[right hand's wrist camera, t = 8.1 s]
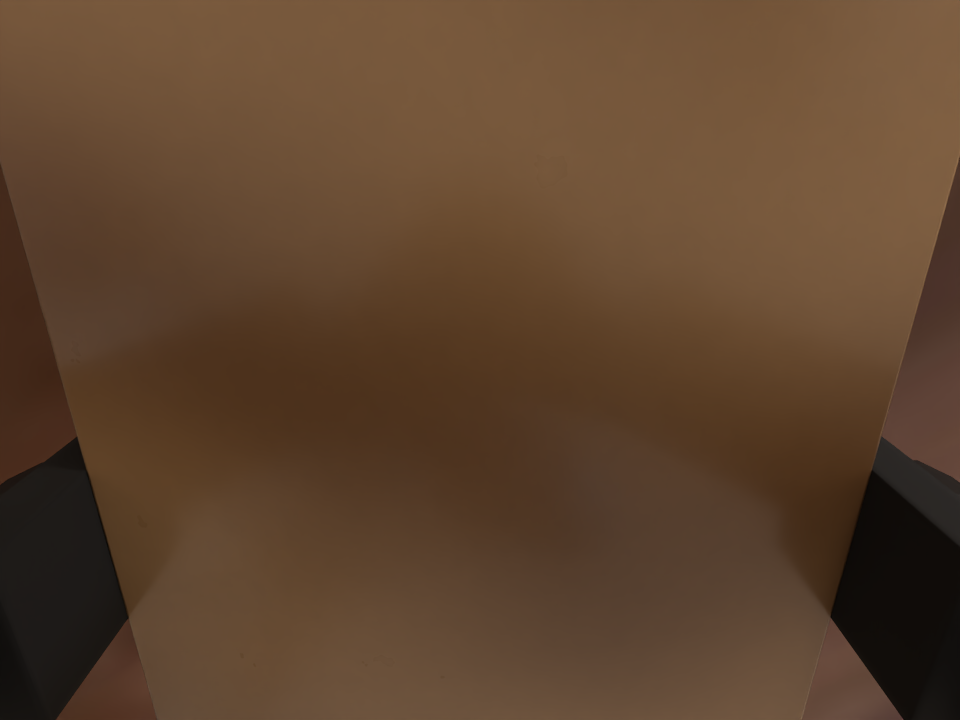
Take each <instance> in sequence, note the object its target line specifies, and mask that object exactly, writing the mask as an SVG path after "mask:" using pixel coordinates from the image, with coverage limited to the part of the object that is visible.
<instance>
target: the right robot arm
mask: <svg viewBox="0 0 960 720" xmlns="http://www.w3.org/2000/svg"><path fill="white" fill-rule="evenodd" d="M831 618H832V620H833V621H834V623H835V624H836V625H837V627H838V628H839V630H840V631H841V632H842V634H843V635H844V637H845V638H846V639H847V641H848V642H849V644H850V645H851V646H852V648H853V649H854V651H855V652H856V653H857V655H858V656H859V658H860V659H861V660H862V662H863V663H864V665H865V666H866V667H867V669H868V670H869V672H870V673H871V674H872V676H873V677H874V679H875V680H876V681H877V683H878V684H879V686H880V687H881V688H882V690H883V691H884V693H885V694H886V695H887V697H888V698H889V700H890V701H891V702H892V704H893V705H894V707H895V708H896V709H897V711H898V712H899V714H900V715H901V716H902V718H903V719H904V720H960V483H959V482H958V481H957V480H955V479H954V478H953V477H951V476H949V475H947V474H944V473H942V472H940V471H938V470H936V469H934V468H932V467H930V466H928V465H926V464H924V463H922V462H920V461H918V460H912V459H910V458H909V457H908V456H906V455H905V454H904V453H903V452H901V451H900V450H899V449H897V448H896V447H895V446H893V445H892V444H891V443H890V442H888V441H887V440H886V439H884V438H883V437H882V436H881V439H880V443H879V446H878V450H877V453H876V457H875V461H874V464H873V468H872V471H871V475H870V478H869V482H868V485H867V489H866V493H865V496H864V500H863V503H862V507H861V510H860V514H859V518H858V521H857V525H856V528H855V532H854V535H853V539H852V542H851V546H850V550H849V553H848V557H847V560H846V564H845V567H844V571H843V575H842V578H841V582H840V585H839V589H838V592H837V596H836V599H835V603H834V607H833V610H832V614H831ZM127 619H128V615H127V611H126V608H125V604H124V601H123V597H122V594H121V590H120V586H119V583H118V579H117V576H116V572H115V569H114V565H113V562H112V558H111V555H110V551H109V548H108V544H107V540H106V537H105V533H104V530H103V526H102V523H101V519H100V516H99V512H98V509H97V505H96V501H95V498H94V494H93V491H92V487H91V484H90V480H89V477H88V473H87V470H86V466H85V463H84V459H83V455H82V452H81V448H80V445H79V441H78V438H77V437H76V438H75V439H74V440H72V441H71V442H70V443H68V444H67V445H66V446H64V447H63V448H62V449H61V450H59V451H58V452H57V453H55V454H54V455H53V456H52V457H50V458H49V459H48V460H46V461H45V462H44V463H41V464H38V465H36V466H34V467H32V468H30V469H28V470H26V471H24V472H22V473H20V474H18V475H16V476H14V477H12V478H10V479H8V480H6V481H5V482H4V483H2V484H1V485H0V720H56V718H57V717H58V716H59V714H60V713H61V711H62V710H63V709H64V707H65V706H66V704H67V703H68V702H69V700H70V699H71V697H72V696H73V695H74V693H75V692H76V690H77V689H78V688H79V686H80V685H81V683H82V682H83V680H84V679H85V678H86V676H87V675H88V673H89V672H90V671H91V669H92V668H93V666H94V665H95V664H96V662H97V661H98V659H99V658H100V657H101V655H102V654H103V652H104V651H105V650H106V648H107V647H108V645H109V644H110V643H111V641H112V640H113V638H114V637H115V636H116V634H117V633H118V631H119V630H120V629H121V627H122V626H123V624H124V623H125V622H126V620H127Z"/></svg>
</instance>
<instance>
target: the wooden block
mask: <svg viewBox="0 0 960 720" xmlns="http://www.w3.org/2000/svg"><path fill="white" fill-rule="evenodd" d="M959 158H960V0H0V165H1V169H2V172H3V176H4V179H5V183H6V186H7V190H8V193H9V197H10V200H11V204H12V207H13V211H14V215H15V218H16V222H17V225H18V229H19V232H20V236H21V239H22V243H23V246H24V250H25V254H26V257H27V261H28V264H29V268H30V271H31V275H32V278H33V282H34V285H35V289H36V292H37V296H38V300H39V303H40V307H41V310H42V314H43V317H44V321H45V324H46V328H47V331H48V335H49V339H50V342H51V346H52V349H53V353H54V356H55V360H56V363H57V367H58V370H59V374H60V377H61V381H62V385H63V388H64V392H65V395H66V399H67V402H68V406H69V409H70V413H71V416H72V420H73V424H74V427H75V431H76V434H77V438H78V441H79V445H80V448H81V452H82V455H83V459H84V463H85V466H86V470H87V473H88V477H89V480H90V484H91V487H92V491H93V494H94V498H95V501H96V505H97V509H98V512H99V516H100V519H101V523H102V526H103V530H104V533H105V537H106V540H107V544H108V548H109V551H110V555H111V558H112V562H113V565H114V569H115V572H116V576H117V579H118V583H119V586H120V590H121V594H122V597H123V601H124V604H125V608H126V611H127V615H128V618H129V622H130V625H131V629H132V633H133V636H134V640H135V643H136V647H137V650H138V654H139V657H140V661H141V664H142V668H143V671H144V675H145V679H146V682H147V686H148V689H149V693H150V696H151V700H152V703H153V707H154V710H155V714H156V718H157V720H802V717H803V714H804V710H805V706H806V703H807V699H808V696H809V692H810V689H811V685H812V681H813V678H814V674H815V671H816V667H817V664H818V660H819V657H820V653H821V649H822V646H823V642H824V639H825V635H826V632H827V628H828V624H829V621H830V617H831V614H832V610H833V607H834V603H835V599H836V596H837V592H838V589H839V585H840V582H841V578H842V575H843V571H844V567H845V564H846V560H847V557H848V553H849V550H850V546H851V542H852V539H853V535H854V532H855V528H856V525H857V521H858V518H859V514H860V510H861V507H862V503H863V500H864V496H865V493H866V489H867V485H868V482H869V478H870V475H871V471H872V468H873V464H874V461H875V457H876V453H877V450H878V446H879V443H880V439H881V436H882V432H883V428H884V425H885V421H886V418H887V414H888V411H889V407H890V404H891V400H892V396H893V393H894V389H895V386H896V382H897V379H898V375H899V371H900V368H901V364H902V361H903V357H904V354H905V350H906V347H907V343H908V339H909V336H910V332H911V329H912V325H913V322H914V318H915V314H916V311H917V307H918V304H919V300H920V297H921V293H922V290H923V286H924V282H925V279H926V275H927V272H928V268H929V265H930V261H931V257H932V254H933V250H934V247H935V243H936V240H937V236H938V232H939V229H940V225H941V222H942V218H943V215H944V211H945V208H946V204H947V200H948V197H949V193H950V190H951V186H952V183H953V179H954V175H955V172H956V168H957V165H958V161H959Z"/></svg>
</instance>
